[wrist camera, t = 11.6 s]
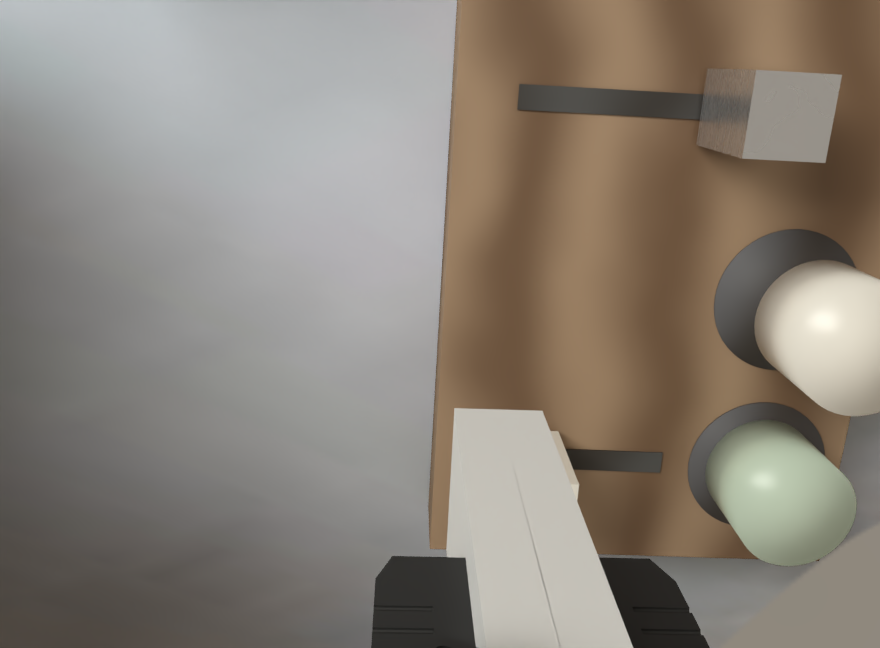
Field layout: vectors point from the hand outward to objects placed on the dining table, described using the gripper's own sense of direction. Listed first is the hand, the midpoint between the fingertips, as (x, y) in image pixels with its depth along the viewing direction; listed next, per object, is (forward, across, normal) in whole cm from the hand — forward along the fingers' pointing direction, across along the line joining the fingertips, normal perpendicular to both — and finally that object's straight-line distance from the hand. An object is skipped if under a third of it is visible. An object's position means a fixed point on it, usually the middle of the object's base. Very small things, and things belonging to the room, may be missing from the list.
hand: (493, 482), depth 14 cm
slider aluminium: (+22, +12, +6) cm, 25 cm away
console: (+26, +10, -2) cm, 28 cm away
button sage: (+21, +15, -10) cm, 28 cm away
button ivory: (+19, +15, -2) cm, 24 cm away
